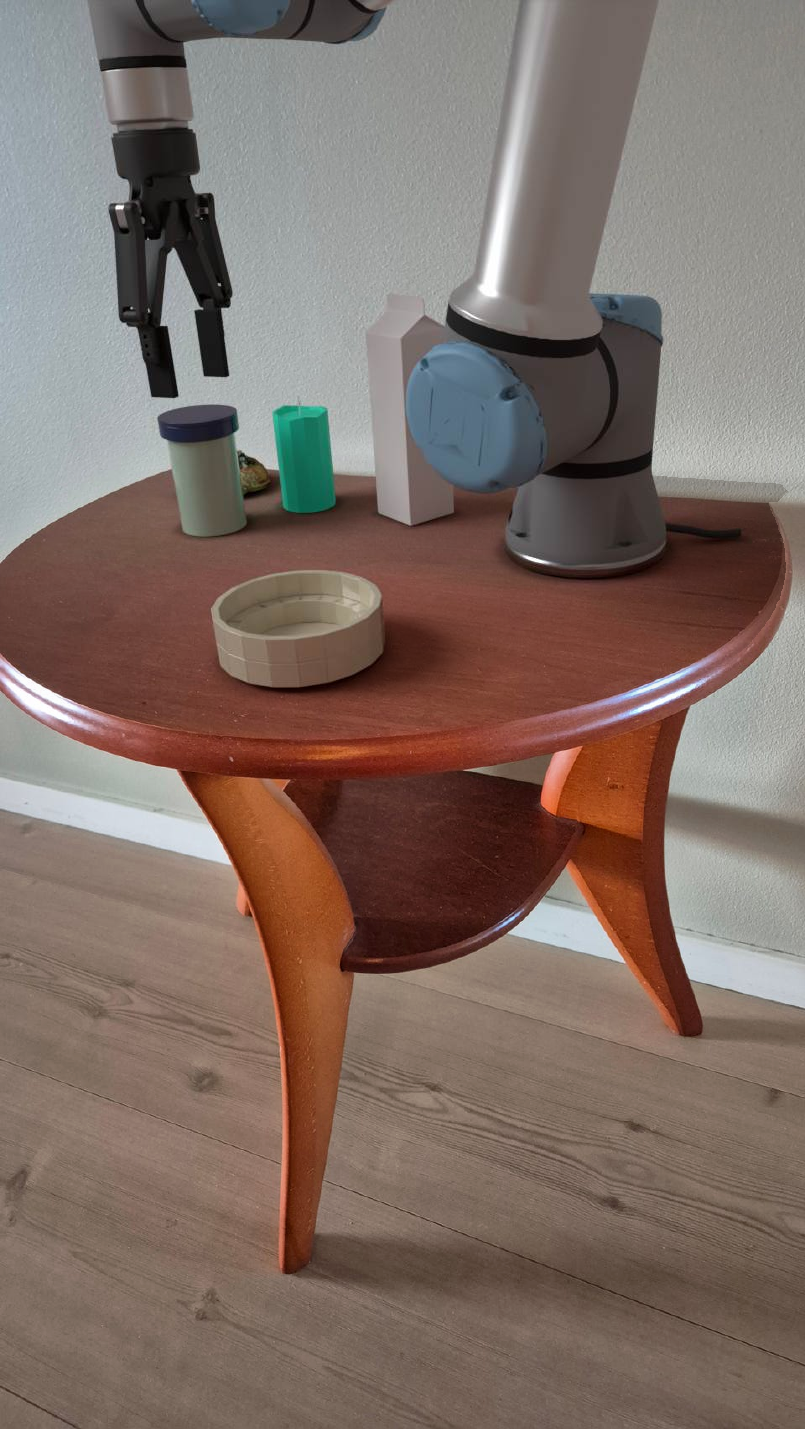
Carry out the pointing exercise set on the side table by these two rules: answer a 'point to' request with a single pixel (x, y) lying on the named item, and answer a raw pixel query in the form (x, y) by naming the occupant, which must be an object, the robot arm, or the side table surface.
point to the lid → (198, 423)
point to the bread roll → (252, 473)
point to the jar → (208, 486)
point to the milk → (402, 414)
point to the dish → (299, 628)
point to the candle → (304, 458)
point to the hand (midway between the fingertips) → (191, 386)
